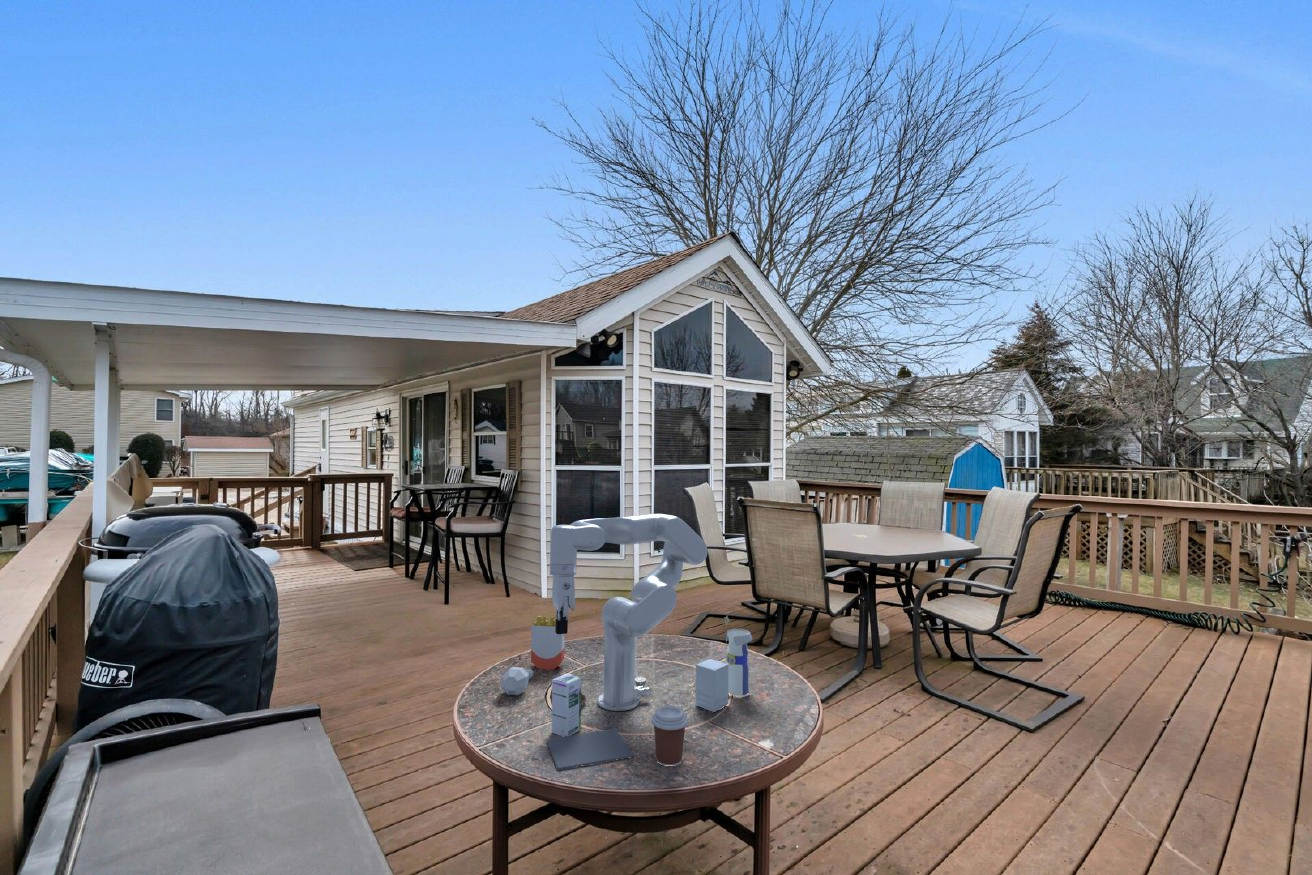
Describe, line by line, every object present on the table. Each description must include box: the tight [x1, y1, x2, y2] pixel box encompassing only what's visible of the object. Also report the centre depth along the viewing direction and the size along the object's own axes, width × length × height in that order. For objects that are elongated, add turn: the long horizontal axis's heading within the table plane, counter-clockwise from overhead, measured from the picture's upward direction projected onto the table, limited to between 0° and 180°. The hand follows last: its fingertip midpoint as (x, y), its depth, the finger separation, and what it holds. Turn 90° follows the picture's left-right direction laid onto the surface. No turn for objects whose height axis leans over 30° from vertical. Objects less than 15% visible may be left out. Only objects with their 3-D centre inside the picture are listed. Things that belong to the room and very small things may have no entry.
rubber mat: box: [546, 728, 634, 771], centre depth 153 cm, size 19×15×1 cm
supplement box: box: [695, 658, 729, 711], centre depth 181 cm, size 7×7×13 cm
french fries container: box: [530, 615, 565, 670], centre depth 210 cm, size 5×11×18 cm, turn 85°
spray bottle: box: [723, 615, 753, 695], centre depth 191 cm, size 8×9×25 cm
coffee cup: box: [651, 705, 689, 765], centre depth 149 cm, size 9×9×12 cm
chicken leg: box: [500, 666, 534, 696], centre depth 191 cm, size 8×18×8 cm, turn 175°
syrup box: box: [551, 673, 582, 737], centre depth 163 cm, size 6×6×14 cm
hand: (561, 633), depth 171 cm, fingers closed
